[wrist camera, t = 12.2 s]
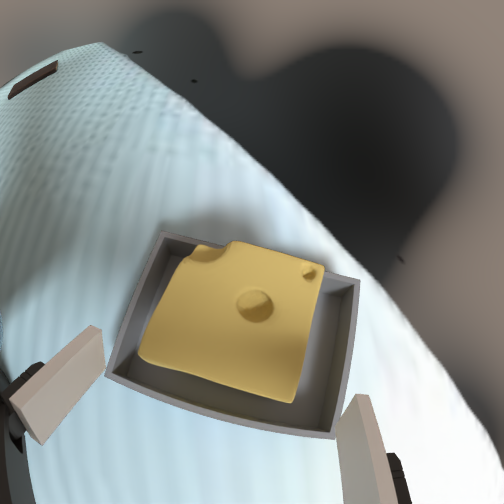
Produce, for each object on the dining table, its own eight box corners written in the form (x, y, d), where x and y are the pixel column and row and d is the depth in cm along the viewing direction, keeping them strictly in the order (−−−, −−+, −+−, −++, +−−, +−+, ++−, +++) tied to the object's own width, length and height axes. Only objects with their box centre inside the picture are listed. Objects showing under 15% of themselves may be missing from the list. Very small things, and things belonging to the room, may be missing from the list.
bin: (123, 379, 23) (104, 376, 19) (170, 252, 30) (161, 230, 26) (319, 433, 22) (334, 439, 18) (344, 295, 29) (360, 279, 25)
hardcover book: (15, 89, 63) (13, 85, 61) (58, 64, 70) (57, 59, 68) (9, 101, 57) (7, 96, 55) (57, 72, 64) (55, 68, 62)
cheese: (204, 275, 28) (191, 220, 20) (303, 306, 27) (335, 262, 19) (167, 369, 23) (130, 355, 15) (276, 405, 22) (300, 413, 14)
